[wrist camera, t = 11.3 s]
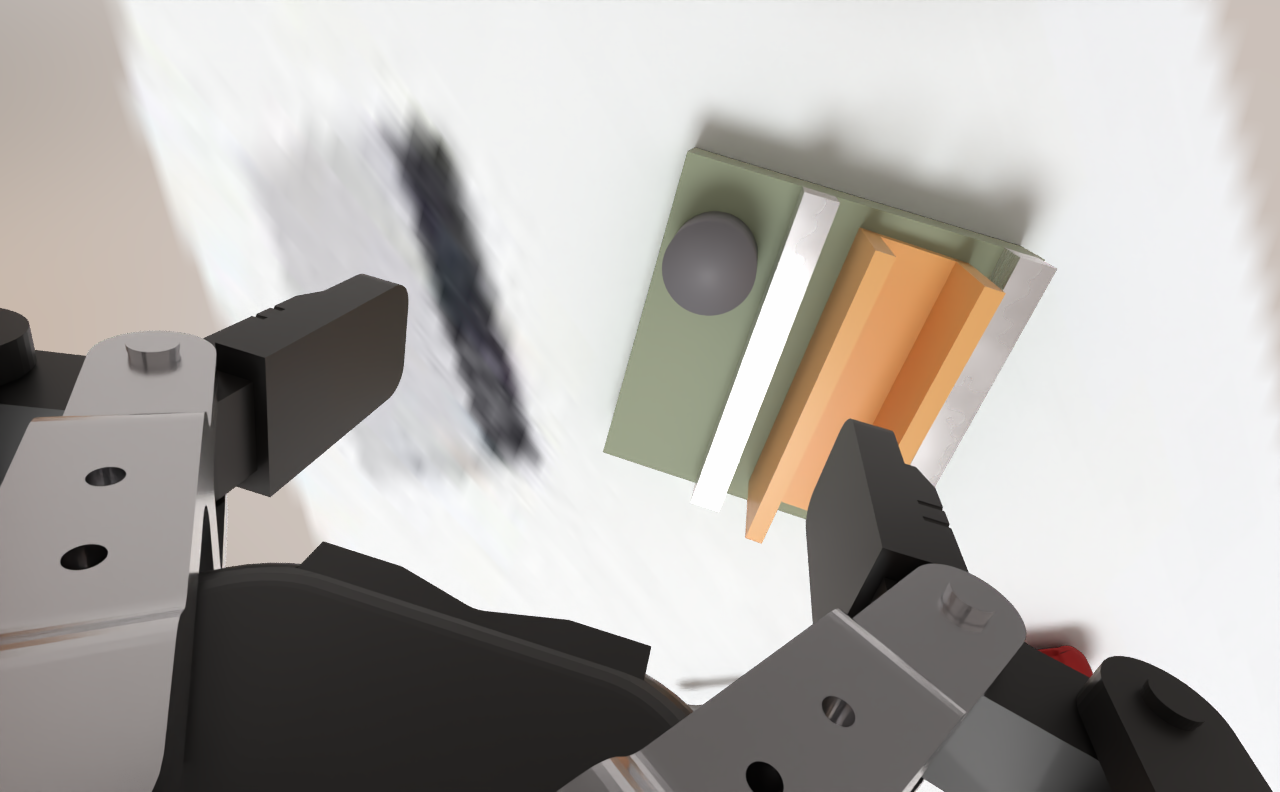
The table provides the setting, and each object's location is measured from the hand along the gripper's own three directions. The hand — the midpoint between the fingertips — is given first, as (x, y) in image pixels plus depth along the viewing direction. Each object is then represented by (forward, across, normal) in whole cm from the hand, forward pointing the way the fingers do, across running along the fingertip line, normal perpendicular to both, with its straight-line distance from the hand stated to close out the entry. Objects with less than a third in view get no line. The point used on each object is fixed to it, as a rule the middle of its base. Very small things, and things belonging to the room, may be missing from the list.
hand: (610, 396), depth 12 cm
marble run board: (+23, -6, +6) cm, 25 cm away
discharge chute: (+20, -9, +6) cm, 23 cm away
